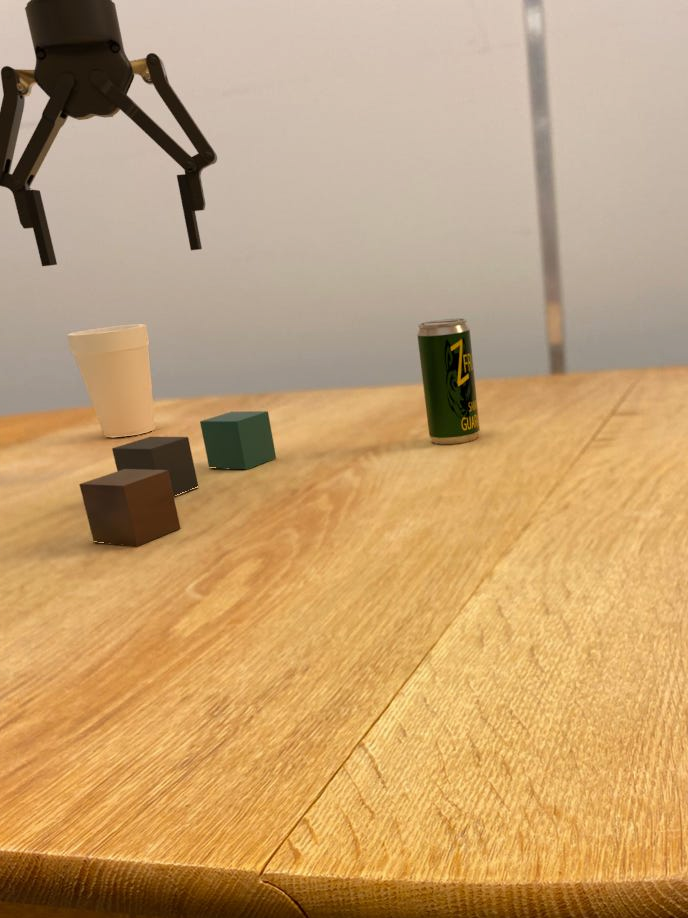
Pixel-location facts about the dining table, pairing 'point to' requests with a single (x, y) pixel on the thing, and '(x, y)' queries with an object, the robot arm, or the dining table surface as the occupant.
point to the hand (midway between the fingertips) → (123, 258)
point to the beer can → (448, 381)
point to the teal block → (238, 439)
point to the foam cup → (117, 376)
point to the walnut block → (130, 506)
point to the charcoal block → (160, 459)
